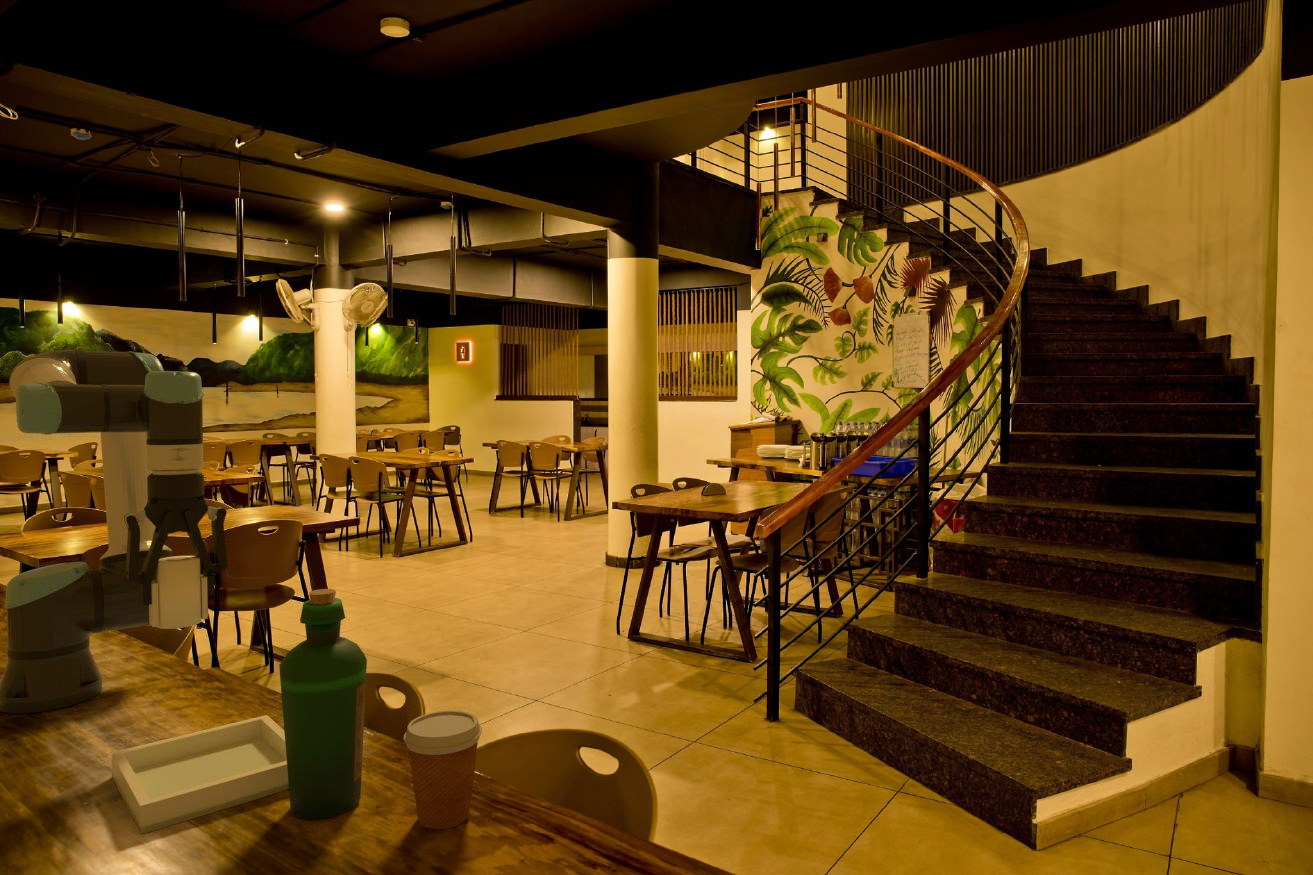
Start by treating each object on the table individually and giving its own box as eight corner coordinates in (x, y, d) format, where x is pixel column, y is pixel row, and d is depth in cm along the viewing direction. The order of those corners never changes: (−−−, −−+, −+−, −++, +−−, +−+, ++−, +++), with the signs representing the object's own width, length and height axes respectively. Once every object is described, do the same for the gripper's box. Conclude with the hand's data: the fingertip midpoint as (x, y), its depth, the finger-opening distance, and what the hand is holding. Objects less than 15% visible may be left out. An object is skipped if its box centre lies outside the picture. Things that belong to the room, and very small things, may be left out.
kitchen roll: (152, 623, 125) (151, 558, 124) (196, 616, 129) (194, 554, 128) (161, 631, 120) (159, 564, 120) (205, 623, 124) (204, 559, 124)
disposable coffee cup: (462, 840, 96) (461, 741, 95) (389, 832, 98) (388, 735, 97) (494, 802, 105) (493, 711, 105) (427, 795, 107) (426, 706, 107)
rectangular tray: (112, 777, 112) (111, 752, 112) (267, 736, 126) (266, 714, 126) (140, 834, 97) (140, 805, 97) (313, 781, 111) (313, 756, 111)
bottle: (386, 793, 108) (383, 586, 107) (329, 832, 98) (326, 604, 97) (322, 781, 111) (318, 580, 110) (261, 818, 101) (256, 597, 100)
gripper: (105, 477, 114) (110, 637, 115) (249, 470, 127) (252, 615, 128) (97, 473, 120) (101, 627, 121) (236, 467, 133) (238, 606, 133)
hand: (179, 620), depth 124 cm, fingers closed on kitchen roll, 6 cm apart
